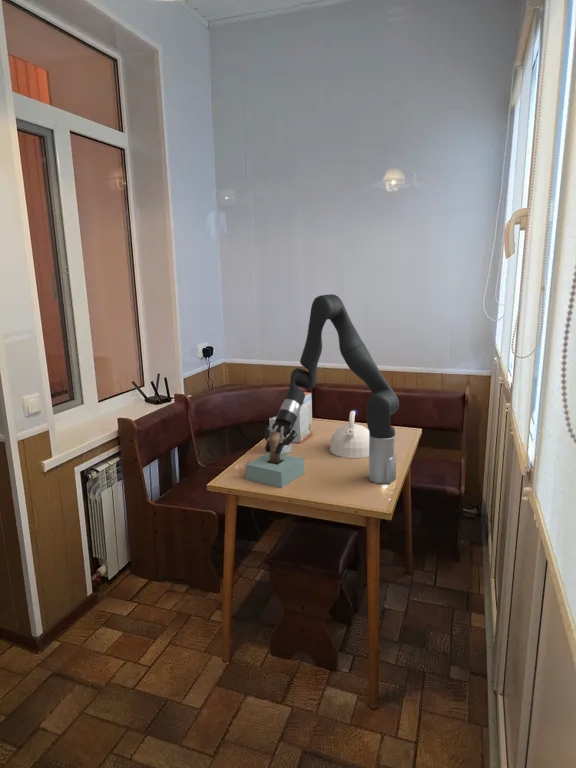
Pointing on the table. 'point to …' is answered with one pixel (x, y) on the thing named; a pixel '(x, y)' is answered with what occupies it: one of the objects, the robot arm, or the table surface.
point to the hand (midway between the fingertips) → (271, 452)
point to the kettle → (350, 440)
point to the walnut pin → (274, 447)
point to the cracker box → (304, 420)
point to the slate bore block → (275, 470)
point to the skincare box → (287, 448)
